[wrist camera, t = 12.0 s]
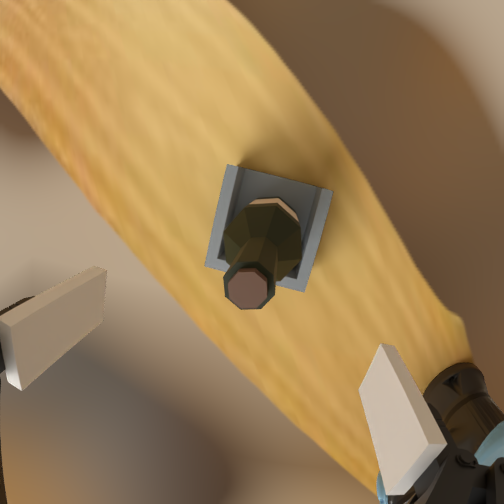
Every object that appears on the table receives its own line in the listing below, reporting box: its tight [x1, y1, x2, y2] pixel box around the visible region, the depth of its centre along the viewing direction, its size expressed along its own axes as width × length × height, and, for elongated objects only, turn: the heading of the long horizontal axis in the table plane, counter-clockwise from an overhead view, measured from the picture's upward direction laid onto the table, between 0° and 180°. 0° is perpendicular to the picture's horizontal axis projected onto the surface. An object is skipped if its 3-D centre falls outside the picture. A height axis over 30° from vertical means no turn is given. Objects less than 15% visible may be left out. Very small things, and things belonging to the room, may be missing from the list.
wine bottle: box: [223, 197, 302, 310], centre depth 34 cm, size 8×8×30 cm
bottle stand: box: [205, 164, 333, 292], centre depth 45 cm, size 14×14×8 cm
